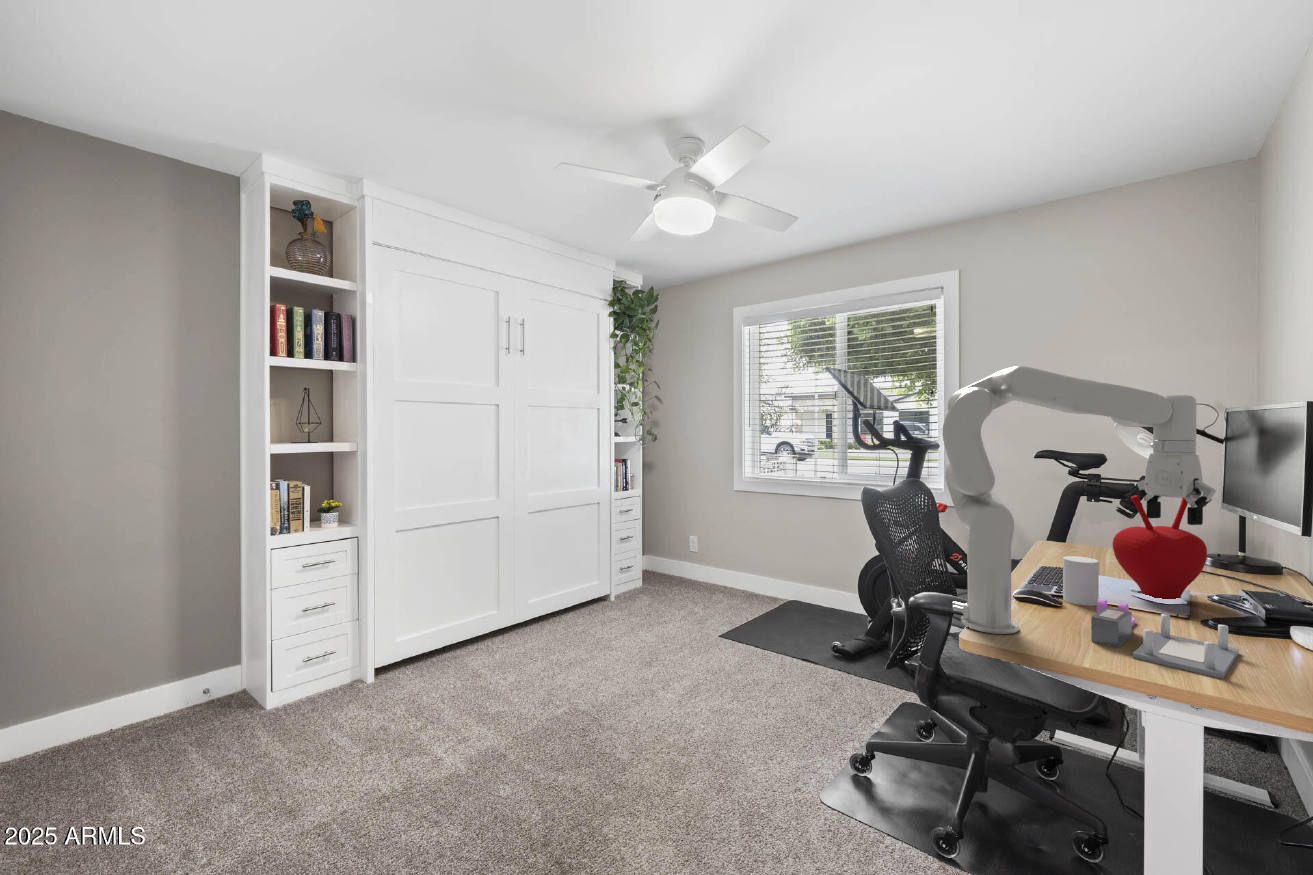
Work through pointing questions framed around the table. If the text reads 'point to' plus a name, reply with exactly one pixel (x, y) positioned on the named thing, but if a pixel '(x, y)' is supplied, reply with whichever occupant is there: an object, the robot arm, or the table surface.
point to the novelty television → (1160, 555)
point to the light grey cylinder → (1080, 580)
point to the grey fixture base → (1187, 651)
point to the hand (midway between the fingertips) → (1173, 521)
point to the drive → (1111, 627)
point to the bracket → (1122, 606)
